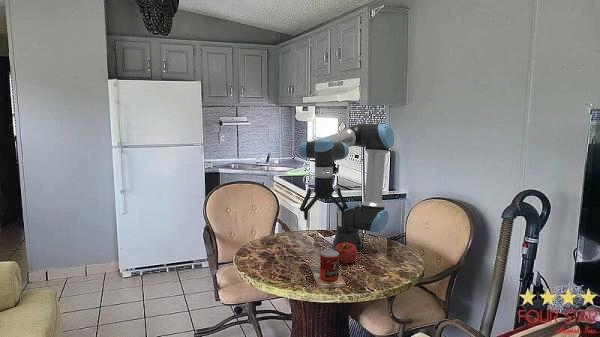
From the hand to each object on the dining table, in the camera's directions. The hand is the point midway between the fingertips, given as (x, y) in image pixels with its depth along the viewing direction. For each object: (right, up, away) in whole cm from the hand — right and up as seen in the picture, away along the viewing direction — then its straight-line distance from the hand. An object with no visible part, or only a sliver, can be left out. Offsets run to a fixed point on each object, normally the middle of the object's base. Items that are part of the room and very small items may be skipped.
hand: (323, 226), depth 178 cm
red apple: (+11, -20, +20) cm, 31 cm away
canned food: (+2, -21, -4) cm, 22 cm away
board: (+1, -22, +2) cm, 22 cm away
